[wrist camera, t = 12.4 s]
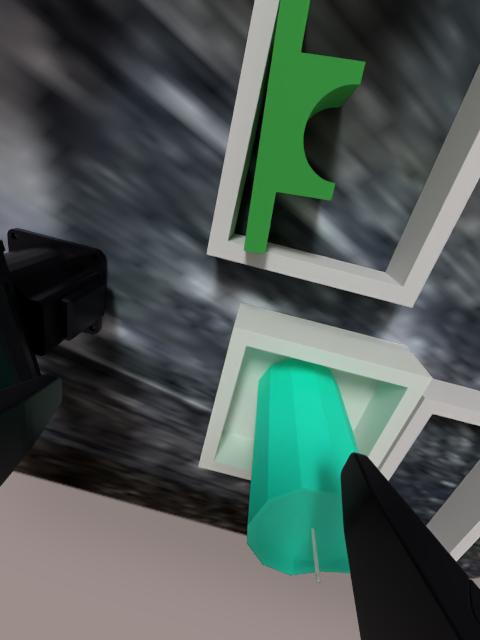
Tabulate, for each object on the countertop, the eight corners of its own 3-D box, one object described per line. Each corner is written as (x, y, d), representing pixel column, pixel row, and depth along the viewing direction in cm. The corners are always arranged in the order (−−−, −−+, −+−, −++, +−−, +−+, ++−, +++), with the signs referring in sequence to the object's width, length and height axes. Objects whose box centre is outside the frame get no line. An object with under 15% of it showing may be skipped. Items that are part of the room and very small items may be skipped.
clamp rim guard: (215, 244, 20) (206, 254, 17) (310, -231, 12) (321, -351, 9) (393, 290, 20) (411, 307, 17) (604, -151, 12) (700, -249, 9)
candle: (247, 410, 24) (225, 598, 13) (271, 346, 22) (269, 514, 11) (320, 431, 24) (357, 636, 13) (352, 371, 22) (432, 561, 11)
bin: (208, 427, 27) (198, 466, 23) (240, 302, 22) (233, 326, 18) (342, 462, 27) (353, 506, 23) (405, 345, 22) (432, 378, 18)
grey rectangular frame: (322, 520, 30) (327, 554, 27) (406, 371, 22) (424, 398, 20) (421, 546, 30) (435, 582, 27) (538, 406, 22) (575, 436, 20)
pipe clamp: (306, 245, 20) (315, 263, 16) (249, 236, 20) (242, 251, 16) (360, 16, 15) (393, -45, 11) (284, 6, 15) (288, -59, 11)
